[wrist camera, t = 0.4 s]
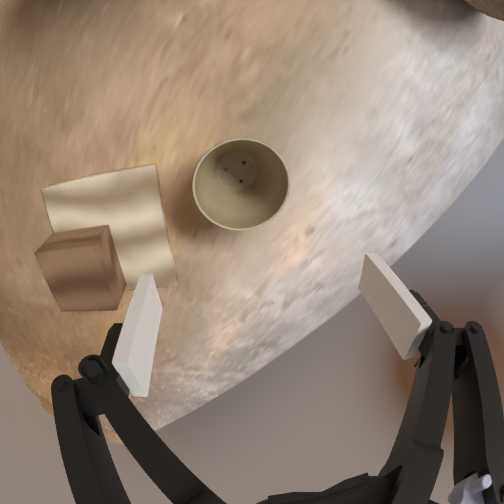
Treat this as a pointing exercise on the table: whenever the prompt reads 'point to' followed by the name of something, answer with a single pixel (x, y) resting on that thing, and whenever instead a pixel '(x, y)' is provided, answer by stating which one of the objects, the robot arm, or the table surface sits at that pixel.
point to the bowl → (489, 7)
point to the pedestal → (83, 269)
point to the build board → (119, 218)
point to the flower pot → (241, 184)
